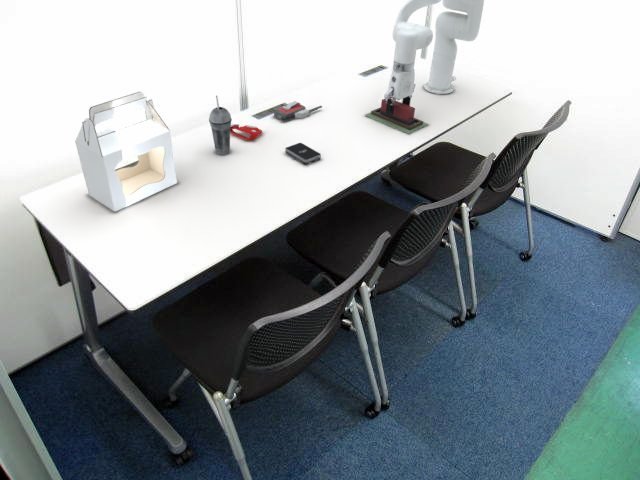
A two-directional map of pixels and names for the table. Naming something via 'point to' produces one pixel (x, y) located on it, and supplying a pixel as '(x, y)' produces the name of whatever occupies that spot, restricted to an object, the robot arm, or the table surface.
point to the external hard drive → (303, 153)
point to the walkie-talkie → (292, 111)
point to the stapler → (400, 112)
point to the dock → (396, 122)
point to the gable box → (125, 153)
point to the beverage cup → (220, 129)
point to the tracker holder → (248, 129)
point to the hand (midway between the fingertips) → (397, 110)
